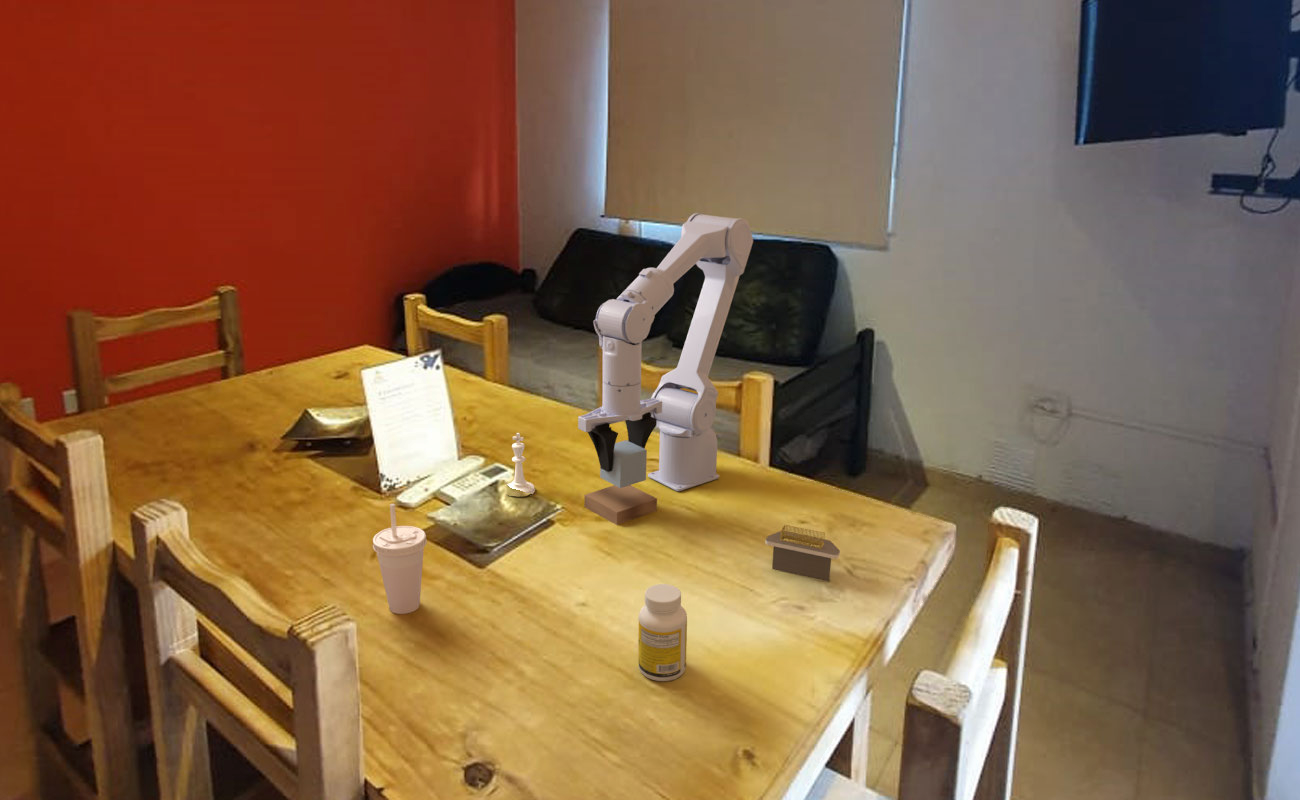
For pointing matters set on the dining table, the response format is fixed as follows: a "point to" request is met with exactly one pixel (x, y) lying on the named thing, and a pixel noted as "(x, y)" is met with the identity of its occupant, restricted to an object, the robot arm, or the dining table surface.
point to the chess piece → (520, 468)
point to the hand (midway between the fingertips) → (620, 465)
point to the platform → (802, 553)
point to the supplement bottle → (662, 634)
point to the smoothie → (401, 564)
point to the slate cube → (626, 465)
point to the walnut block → (620, 503)
